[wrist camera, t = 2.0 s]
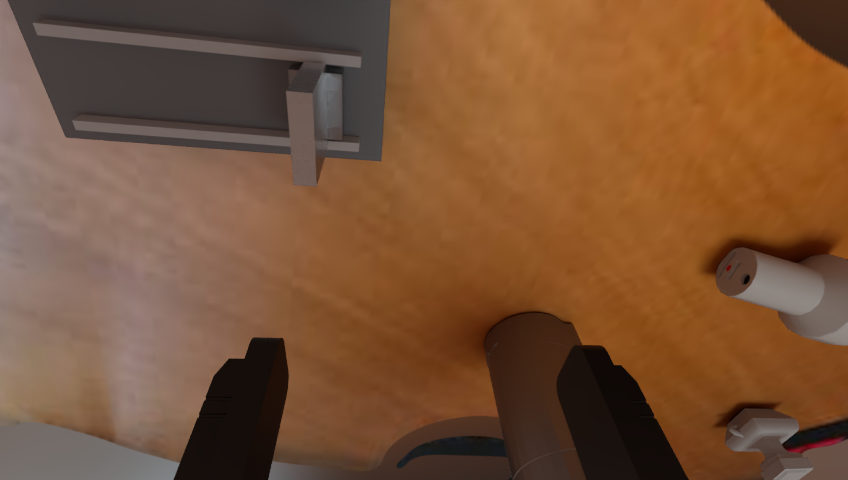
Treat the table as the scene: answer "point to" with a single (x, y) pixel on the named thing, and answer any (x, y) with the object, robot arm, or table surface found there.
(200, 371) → the table surface
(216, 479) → the robot arm
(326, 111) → the metal slider handle
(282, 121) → the control panel
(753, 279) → the spotlight
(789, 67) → the table surface
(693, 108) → the table surface
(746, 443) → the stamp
